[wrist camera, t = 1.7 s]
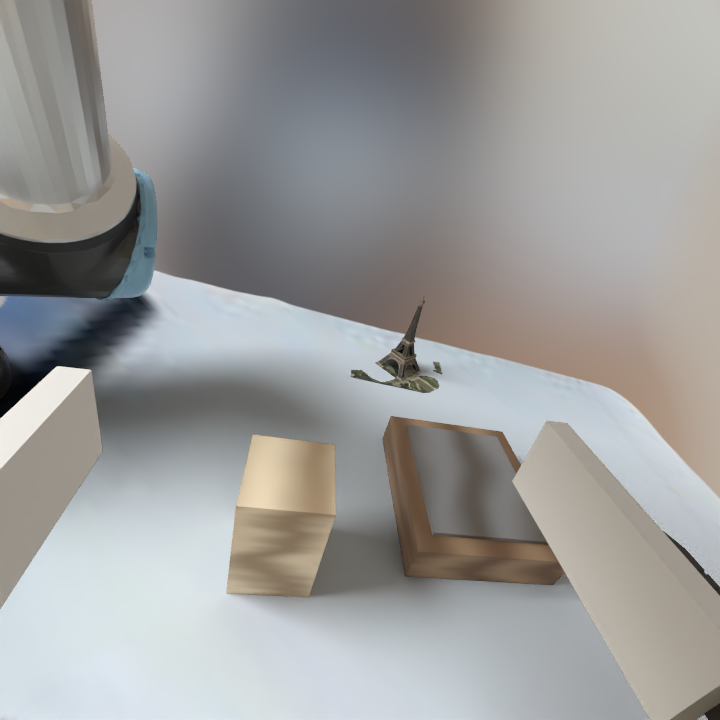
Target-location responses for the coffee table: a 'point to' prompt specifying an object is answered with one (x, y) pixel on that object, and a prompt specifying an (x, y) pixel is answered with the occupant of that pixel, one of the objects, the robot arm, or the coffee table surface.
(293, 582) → the oak block
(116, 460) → the coffee table surface
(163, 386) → the coffee table surface
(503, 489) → the walnut frame
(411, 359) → the eiffel tower figurine
